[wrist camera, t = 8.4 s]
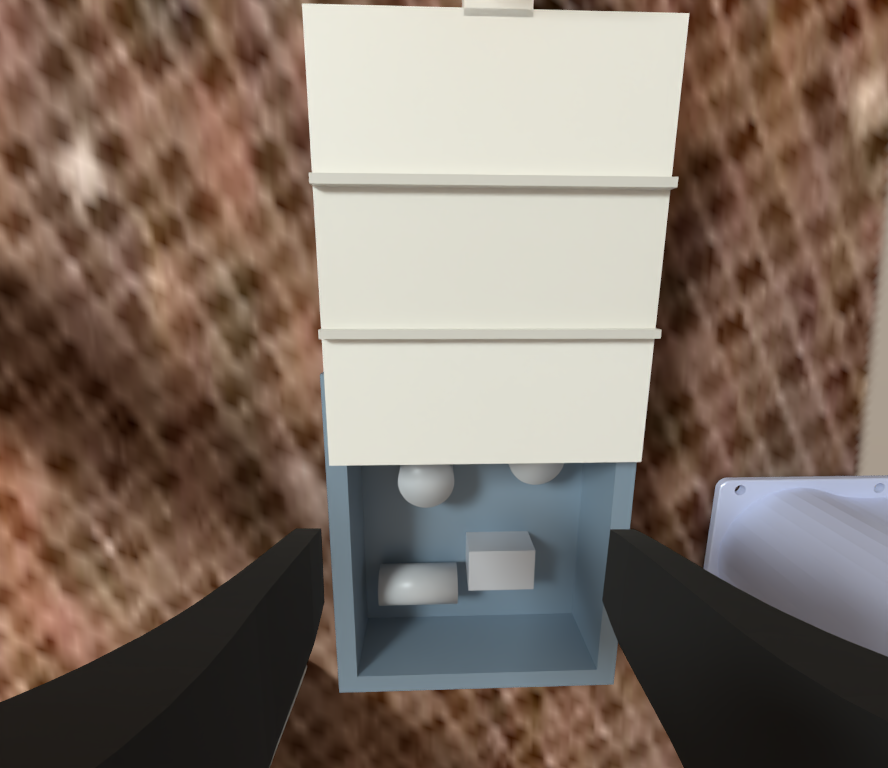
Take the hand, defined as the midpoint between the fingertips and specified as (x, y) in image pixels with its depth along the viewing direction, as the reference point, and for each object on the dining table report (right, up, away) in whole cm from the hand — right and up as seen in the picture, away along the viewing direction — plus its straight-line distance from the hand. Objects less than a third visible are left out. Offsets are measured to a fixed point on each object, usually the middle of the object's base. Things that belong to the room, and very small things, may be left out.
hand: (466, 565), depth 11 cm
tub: (+1, -1, +11) cm, 11 cm away
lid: (+1, +11, +4) cm, 12 cm away
